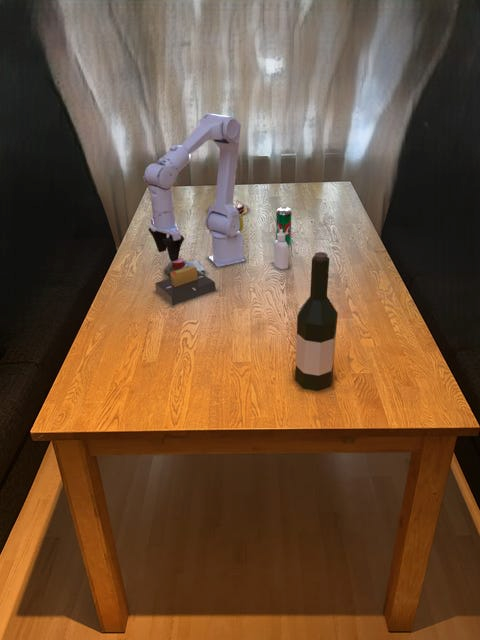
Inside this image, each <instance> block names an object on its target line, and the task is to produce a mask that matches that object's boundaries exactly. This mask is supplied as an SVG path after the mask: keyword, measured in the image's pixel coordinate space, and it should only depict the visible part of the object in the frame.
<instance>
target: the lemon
mask: <svg viewBox="0 0 480 640" xmlns="http://www.w3.org/2000/svg"><path fill="white" fill-rule="evenodd" d="M242 216H243V215H240V214H239V220H240V228H239V232H240V233H241V231H243V228H244V218H243V217H242Z"/></svg>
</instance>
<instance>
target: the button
mask: <svg viewBox="0 0 480 640" xmlns="http://www.w3.org/2000/svg"><path fill="white" fill-rule="evenodd" d="M184 261H185V260H184V258H181V257H179V258H178V260H176V261H173V262H172V266H173V267H175V268H179V267H183V266H184Z"/></svg>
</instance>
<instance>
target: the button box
mask: <svg viewBox="0 0 480 640" xmlns="http://www.w3.org/2000/svg"><path fill="white" fill-rule="evenodd" d="M192 265H194V266H196V267H197V270H199V271H200V272H201V273H203V274H204V275H206V271H205V269H204V268H203V267H202V265H200V263H199V262H198V261H197V260H190V261H187V260H184V266H183V267H179V268H175V267H173V266H172V262H171V261H170V262H168V263H167V265H166V266H165V271H166V272H167V274H168V275H169V276H170V277H171V271H176V270H179V269H183V268H186V267H189V266H192Z"/></svg>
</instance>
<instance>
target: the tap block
mask: <svg viewBox="0 0 480 640" xmlns="http://www.w3.org/2000/svg"><path fill="white" fill-rule="evenodd" d="M197 276H198V280H195V281H192V282H189V283H186V284H183V285H180V286H177V287H174V286H173V285H172V281H171V277H169V278H167V279H163V280H160V281H156V282H155V283H154V284H155V285H154V286H155V291H156V292H155V293H157V295H159V296H160V297H162V298H163V299H164V300H165V301H166V302H167V303H169V304H170V305H171V306H172V307H173V306H176V305H180V304H182V303H184V302H188V301H191V300H193V299H197V298H199V297H203V296H205V295H207V294H210V293H213V292H216V281H214V280H213V279H211V278H210V277H208V276H207V275H206V274H203V273H201V272H200V271H199V270H197Z"/></svg>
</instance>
